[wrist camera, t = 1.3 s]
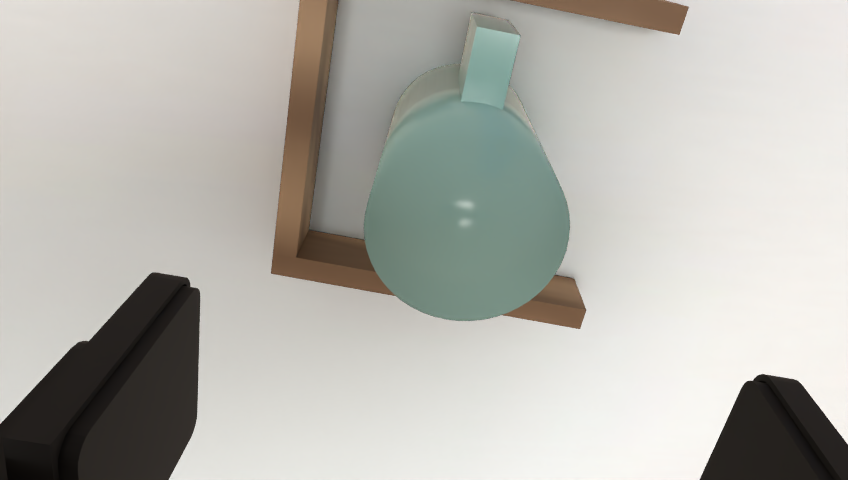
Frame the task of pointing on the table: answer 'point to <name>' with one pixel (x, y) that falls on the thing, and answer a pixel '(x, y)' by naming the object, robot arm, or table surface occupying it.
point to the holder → (294, 242)
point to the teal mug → (466, 189)
